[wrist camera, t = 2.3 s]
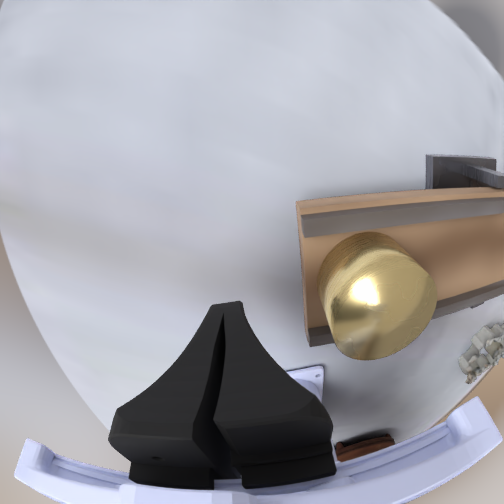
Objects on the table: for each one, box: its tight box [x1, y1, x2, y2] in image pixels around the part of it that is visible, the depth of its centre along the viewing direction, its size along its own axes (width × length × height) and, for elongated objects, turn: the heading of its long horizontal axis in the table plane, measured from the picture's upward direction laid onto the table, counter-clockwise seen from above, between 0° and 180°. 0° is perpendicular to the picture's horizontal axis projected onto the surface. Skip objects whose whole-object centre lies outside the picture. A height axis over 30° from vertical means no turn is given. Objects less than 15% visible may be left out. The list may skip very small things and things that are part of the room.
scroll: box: [335, 434, 395, 462], centre depth 24 cm, size 15×15×20 cm
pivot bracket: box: [426, 155, 504, 308], centre depth 15 cm, size 11×8×4 cm
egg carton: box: [458, 324, 504, 384], centre depth 23 cm, size 11×8×4 cm
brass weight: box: [317, 231, 437, 360], centre depth 12 cm, size 5×5×4 cm
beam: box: [296, 187, 504, 347], centre depth 13 cm, size 8×28×2 cm, turn 98°
